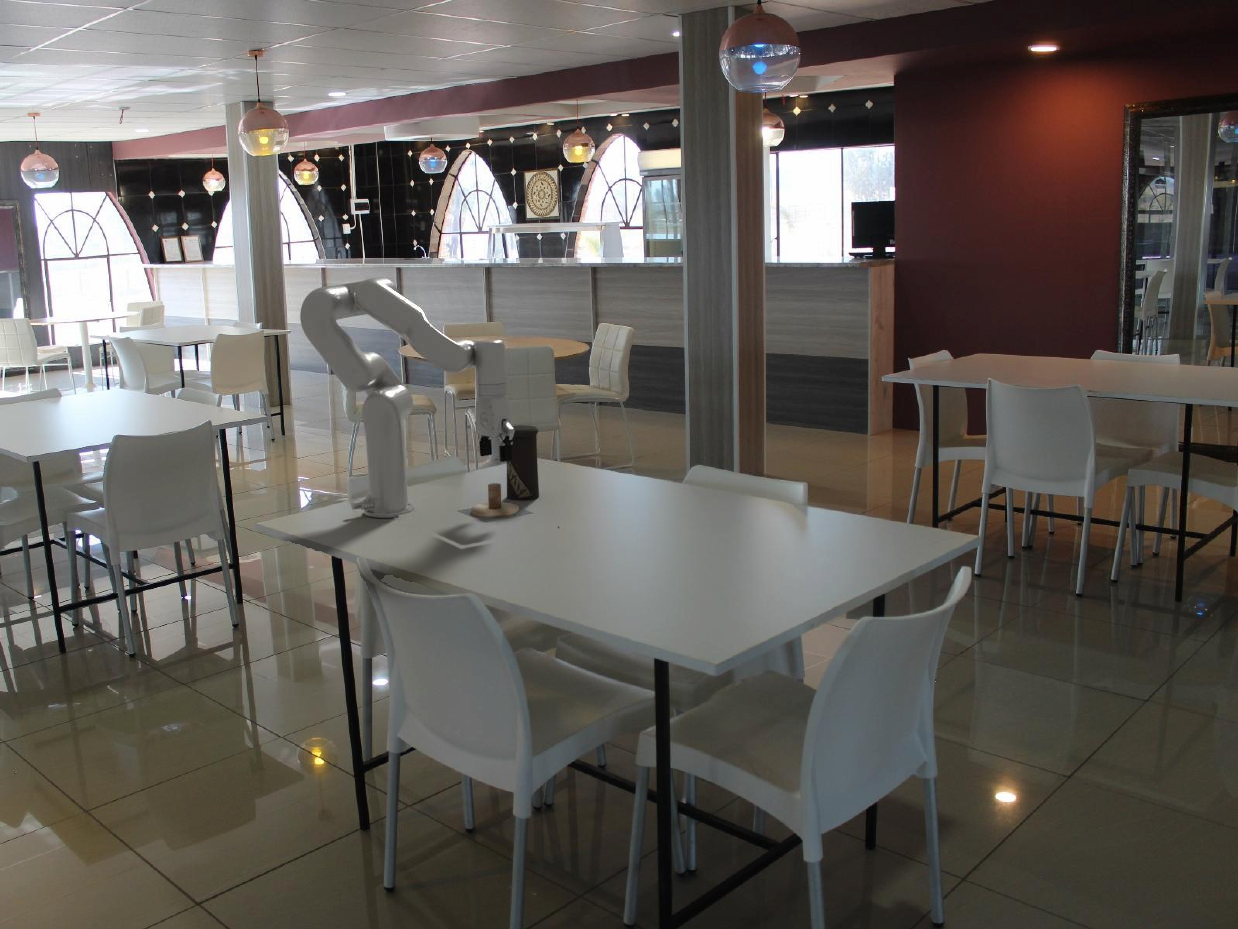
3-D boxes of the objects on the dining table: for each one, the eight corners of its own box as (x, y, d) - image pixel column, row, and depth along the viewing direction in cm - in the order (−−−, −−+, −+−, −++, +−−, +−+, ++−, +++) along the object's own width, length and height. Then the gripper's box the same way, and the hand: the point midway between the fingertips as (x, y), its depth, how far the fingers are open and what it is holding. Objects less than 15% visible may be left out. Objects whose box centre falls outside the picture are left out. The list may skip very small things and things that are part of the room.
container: (502, 498, 296) (499, 424, 292) (533, 494, 300) (531, 422, 295) (512, 505, 288) (510, 429, 284) (545, 501, 292) (543, 427, 288)
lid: (486, 520, 270) (485, 492, 269) (462, 510, 280) (461, 483, 278) (528, 512, 277) (527, 485, 276) (503, 503, 287) (502, 477, 285)
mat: (485, 525, 269) (485, 521, 269) (457, 513, 280) (457, 510, 280) (533, 515, 277) (533, 512, 277) (504, 505, 288) (504, 502, 288)
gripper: (461, 388, 277) (465, 455, 280) (497, 395, 263) (501, 465, 267) (487, 385, 281) (491, 451, 285) (523, 391, 267) (527, 460, 271)
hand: (496, 458), depth 276 cm, fingers open, 9 cm apart
